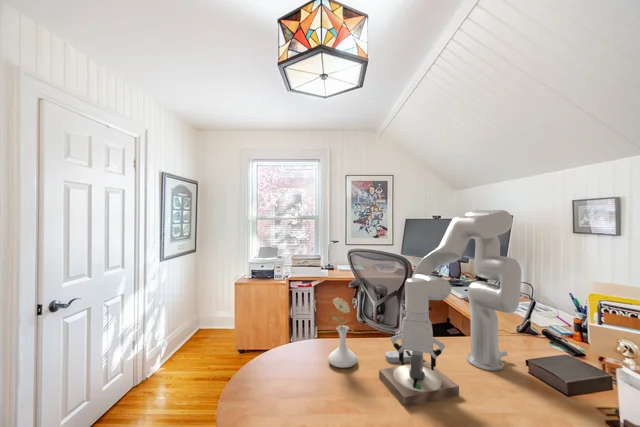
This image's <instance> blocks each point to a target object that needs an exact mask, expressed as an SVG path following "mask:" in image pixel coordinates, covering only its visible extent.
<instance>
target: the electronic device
mask: <svg viewBox="0 0 640 427" xmlns="http://www.w3.org/2000/svg"><path fill="white" fill-rule="evenodd" d="M412 353H413V351H409V350H404V363H411V356H412ZM384 354H385V355H384V356H385V357H384V358H385V361H386V362H388V363H391V364H392V363H393V364H394V363H395V364H397V363H398V364H401V361H399V353H398V351H397V350H387V351H386V352H385V353H384Z"/></svg>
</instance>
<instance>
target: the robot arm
mask: <svg viewBox="0 0 640 427" xmlns="http://www.w3.org/2000/svg"><path fill="white" fill-rule="evenodd" d="M513 223H514V222H513V217H512V215H511V213H510V212H508V211H507V210H504V209H478V210H471V211H470V210H469V211H467V212H466V213H465V214H464V215H458V216H454V218H451V220H450V222H449V224H448V226H447V228H446V231H445V233H444V234H443V237H442V239H441V240H440V243H439V245H438V246H437V247H436V248H435V249H434V250H432V251H431V252H429V253H428V254H427V255H426V256H424V257H423V258H421V260H420V261H419V262H418V264H416V266H415V269H414V271H413V273H412V275H411V277H409V278H407V279H406V280H405V282H404V305H405V306H404V307H405V308H403V310H402V309H401V310H400V315H403V316H404V317H403V318H402V322H401V331H400V332H401V333H399V334H396V335H393V336H391V337H390V342H391V344H392V345H393V347H394V349H396V350H395V351H398V353H399V361H401V363H400V366H403V365H404V363H405V362H404V351H407V350H409V351H416V352H423V354H424V353H425V354H430V364H431V370H433V371H434V367H435V368H436V367H437V366H436V365H437V363H436V362H437V358H438V356H440V355H441V354H442V352H443V351H444V349H445V347H446V346H445V344H444V343H443V342H442V341H440V340H438V339H437V338H435V337H434V334H433V325H432V322H431V319H430V318H429V314H430V313H429V301H443V300H445V299H447V298H449V296H450V295H451V293H452V286H451V284H450V282H449V281H448V280H446V278H442V277H439V276H435V275H432V273H433V272H434V271H435V270H436V269H438V268H439V267H442V266H444V265H448V264H450V263H451V264H452V263H455V262H457V261H459V260H461V259H462V257H463V256H464V253H465V251H466V248H467V246H468V244H469V242H470V241H471V240H472V239H474V242H475V243H474V244H475V249H474V250H475V252H474V262H473V270H474V273H475V275H476V276H477V277H478V278H482V279H487V280H491V281H495V282H499V284H496V283H492V282H487V281H484V280H483V281H481V280H476V281H473V282H471V283H470V284H469V285H468V287H467V292H466V293H467V297H468V302H469V309H470V310H469V312H470V314H469V315H470V352H468V353H467V354H466V355H465V356H466V358H465V359H466V361H467V362H468V363H469V364H471V366H473V367H477V368H478V369H481V370H485V371H494V372H495V371H501V370H503V369H504V362H503V361H502V360H501V359H502V358H503V357H508V356H509V355H508V352H507V351H506V350H502V351H501V350H499V347H500V346H499V340H500V339H499V318H498V317H499V316H498V315H497V312H501V313H504V314H508V315H509V314H510V315H511V314H514V313H515V312H516V311H517V310H518V308H519V305H520V300H521V299H520V298H521V286H522V268H521V265H520V263H519V262H518V260H516V259H515V258H513V257H509V256H504V255H503V256H501V243H500V239H499V238H498V236H500V235H503V234H505V233H507V232H508V231H509V230H510V229H511V227H512V226H513ZM496 311H497V312H496ZM398 340H400V341H401V342H400V343H401V344H399V343H398V342H397V341H398ZM434 345H436V346H438V348H436V349H434Z"/></svg>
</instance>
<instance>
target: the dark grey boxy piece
mask: <svg viewBox="0 0 640 427" xmlns="http://www.w3.org/2000/svg"><path fill="white" fill-rule="evenodd" d="M423 362H424V353H423V352H416V351H413V353H412V356H411V362H410V364H411V370H409V376H410V377H411V378H412V379H414V383H413V387H416V383H417V380H424V379H425V373H424V372H423V371H422V370H423Z"/></svg>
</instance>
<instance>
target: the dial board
mask: <svg viewBox="0 0 640 427" xmlns="http://www.w3.org/2000/svg"><path fill="white" fill-rule="evenodd" d="M409 370H411V363H410V364H403V365H398V366H393V367H386V368H380V369H379V370H378V378H379V380H380V381H381V382H382V383H383V384H384V385H385V386H386V387H387V389H388V390H389V391H390V392H391V393H392V395H393V396H394V397H395V398H396V400H398V402H399V403H400V404H401V405H402V406H403V407H404V408H407V407H412V406H417V405H420V404H426V403H430V402H436V401H439V400H444V399H449V398H453V397H458V396H460V385H458V384H457V383H455V382H454V381H453V379H451V378H449V377H448V376H447V375H446V374H444V373H443V372H441V371H440V370H439V369H437V368H436V367H434V371H433V370H431V362H428V361H423V370H422V371H423V372H424V373H425V379H424V380H417V383H416V387H413V383H414V379H412V378H411V377H410V376H409Z"/></svg>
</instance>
